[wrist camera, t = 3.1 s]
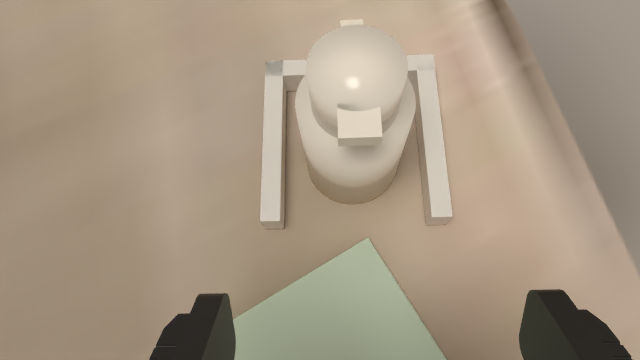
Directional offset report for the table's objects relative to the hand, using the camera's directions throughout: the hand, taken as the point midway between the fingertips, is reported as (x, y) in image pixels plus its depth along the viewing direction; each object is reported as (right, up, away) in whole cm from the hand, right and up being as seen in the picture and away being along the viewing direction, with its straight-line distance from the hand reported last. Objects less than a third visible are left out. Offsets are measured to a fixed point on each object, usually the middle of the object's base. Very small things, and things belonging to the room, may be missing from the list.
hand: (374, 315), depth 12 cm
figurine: (+1, +5, +17) cm, 18 cm away
